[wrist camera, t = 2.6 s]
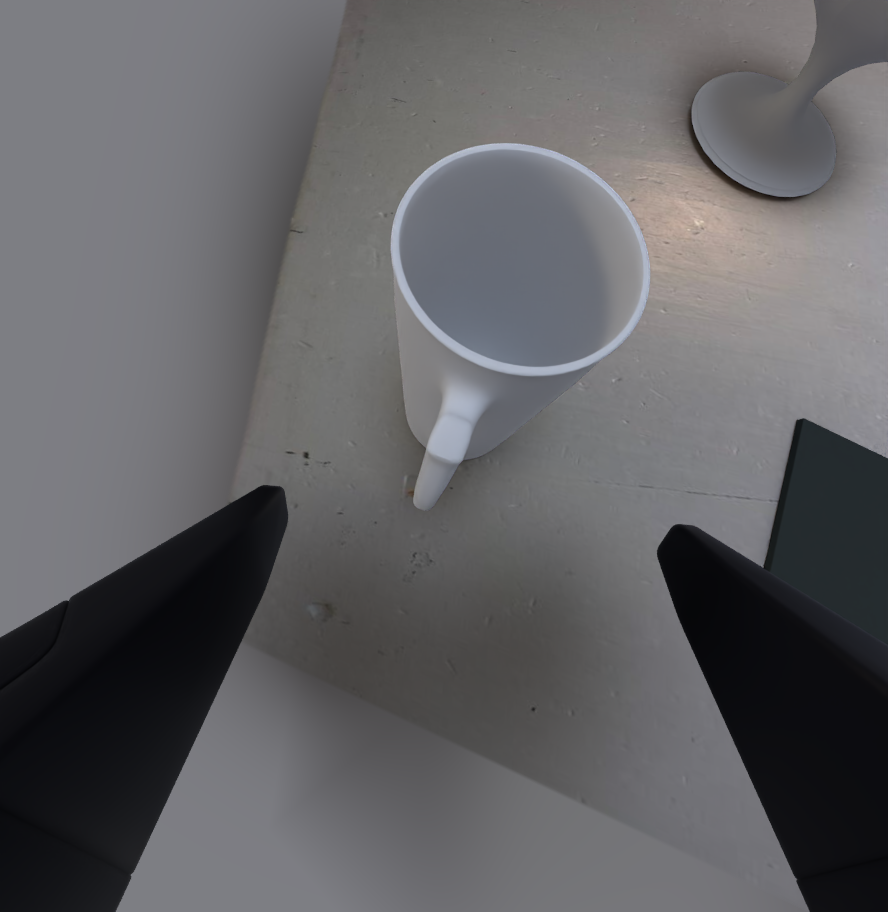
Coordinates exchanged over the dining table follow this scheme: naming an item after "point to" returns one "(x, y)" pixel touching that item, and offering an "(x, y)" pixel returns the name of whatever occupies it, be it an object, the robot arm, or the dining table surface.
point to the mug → (505, 295)
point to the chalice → (788, 105)
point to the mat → (835, 527)
